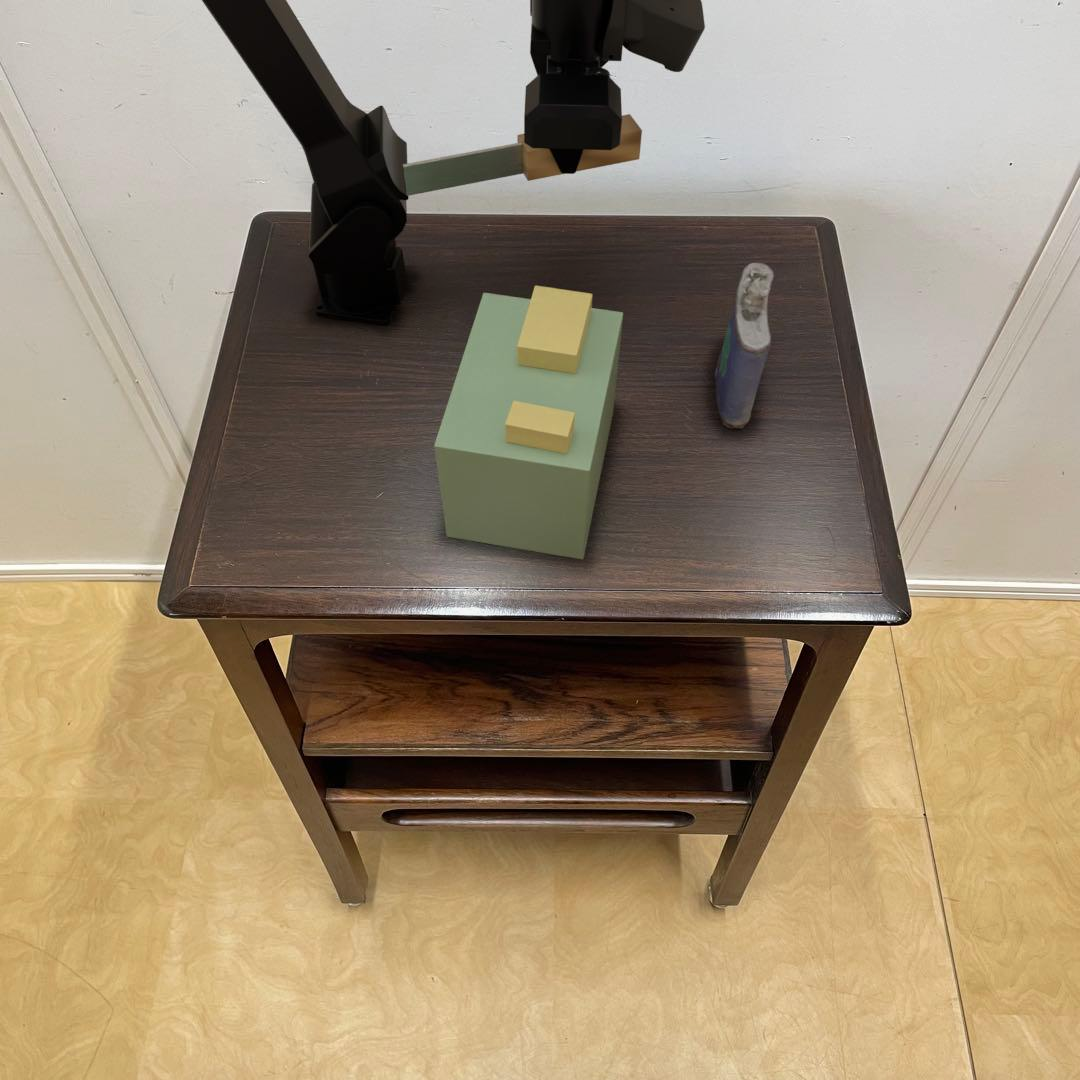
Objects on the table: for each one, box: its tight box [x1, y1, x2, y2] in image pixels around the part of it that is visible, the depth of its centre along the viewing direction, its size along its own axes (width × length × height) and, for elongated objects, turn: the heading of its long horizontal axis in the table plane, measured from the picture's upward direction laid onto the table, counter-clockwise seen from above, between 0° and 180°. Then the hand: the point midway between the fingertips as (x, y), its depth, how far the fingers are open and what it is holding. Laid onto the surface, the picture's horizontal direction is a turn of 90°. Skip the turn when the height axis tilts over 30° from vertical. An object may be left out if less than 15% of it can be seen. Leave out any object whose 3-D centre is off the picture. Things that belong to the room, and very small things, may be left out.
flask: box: [714, 262, 775, 429], centre depth 75 cm, size 9×3×11 cm, turn 172°
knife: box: [402, 113, 643, 196], centre depth 74 cm, size 18×2×2 cm, turn 109°
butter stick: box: [517, 285, 593, 374], centre depth 67 cm, size 4×6×2 cm
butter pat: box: [505, 401, 575, 454], centre depth 62 cm, size 4×2×2 cm, turn 76°
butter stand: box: [433, 292, 624, 560], centre depth 70 cm, size 10×14×11 cm
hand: (568, 158), depth 75 cm, fingers closed on knife, 3 cm apart
